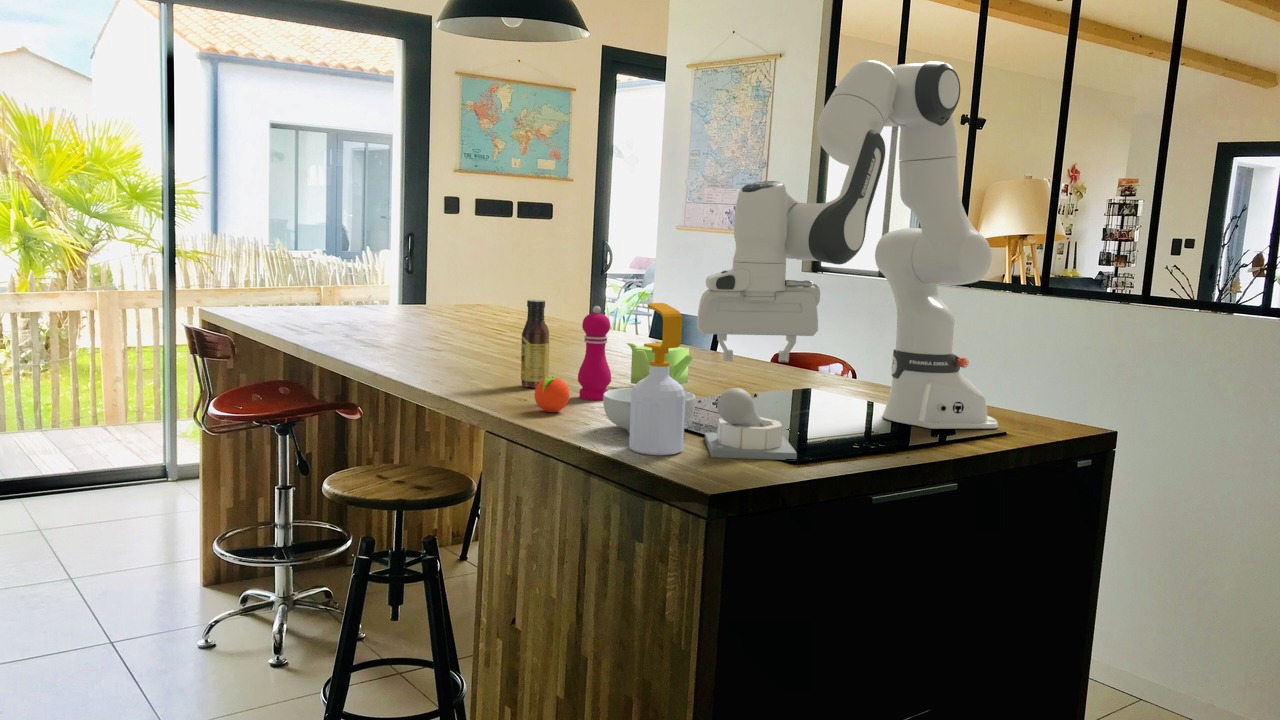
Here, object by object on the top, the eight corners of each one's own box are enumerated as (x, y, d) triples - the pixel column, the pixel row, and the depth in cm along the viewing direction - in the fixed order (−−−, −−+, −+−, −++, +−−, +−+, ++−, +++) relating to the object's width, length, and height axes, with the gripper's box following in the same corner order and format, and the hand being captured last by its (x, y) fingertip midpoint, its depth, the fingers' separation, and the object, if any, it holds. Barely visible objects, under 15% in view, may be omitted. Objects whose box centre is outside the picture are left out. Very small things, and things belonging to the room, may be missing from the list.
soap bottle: (656, 441, 170) (662, 301, 167) (693, 451, 164) (701, 305, 160) (617, 448, 164) (623, 302, 161) (655, 458, 158) (662, 306, 154)
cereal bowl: (648, 419, 191) (650, 383, 190) (712, 434, 179) (714, 396, 178) (583, 429, 179) (584, 391, 178) (647, 445, 167) (648, 405, 166)
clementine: (558, 417, 188) (559, 381, 188) (525, 414, 191) (526, 378, 190) (574, 410, 196) (575, 375, 195) (542, 407, 198) (543, 372, 197)
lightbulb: (779, 415, 168) (740, 375, 163) (777, 440, 163) (737, 400, 159) (750, 428, 171) (711, 389, 166) (747, 454, 166) (708, 414, 162)
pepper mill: (617, 398, 212) (620, 306, 210) (598, 402, 206) (601, 307, 204) (589, 394, 216) (592, 303, 214) (570, 398, 210) (573, 305, 208)
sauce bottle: (524, 383, 227) (526, 298, 224) (550, 385, 226) (553, 299, 223) (517, 388, 220) (519, 300, 217) (544, 389, 219) (546, 301, 217)
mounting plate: (782, 441, 174) (783, 433, 174) (796, 460, 160) (797, 451, 160) (704, 439, 174) (705, 430, 174) (711, 457, 160) (711, 448, 160)
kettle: (635, 394, 219) (637, 344, 217) (620, 384, 232) (621, 337, 231) (698, 393, 222) (701, 344, 221) (680, 384, 236) (682, 337, 235)
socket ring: (775, 437, 172) (776, 417, 172) (784, 450, 162) (785, 429, 162) (715, 434, 172) (716, 415, 172) (721, 448, 162) (722, 427, 161)
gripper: (817, 279, 167) (813, 359, 169) (697, 277, 166) (695, 357, 168) (824, 282, 160) (820, 365, 162) (700, 279, 160) (697, 363, 162)
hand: (755, 361), depth 165 cm, fingers open, 8 cm apart
